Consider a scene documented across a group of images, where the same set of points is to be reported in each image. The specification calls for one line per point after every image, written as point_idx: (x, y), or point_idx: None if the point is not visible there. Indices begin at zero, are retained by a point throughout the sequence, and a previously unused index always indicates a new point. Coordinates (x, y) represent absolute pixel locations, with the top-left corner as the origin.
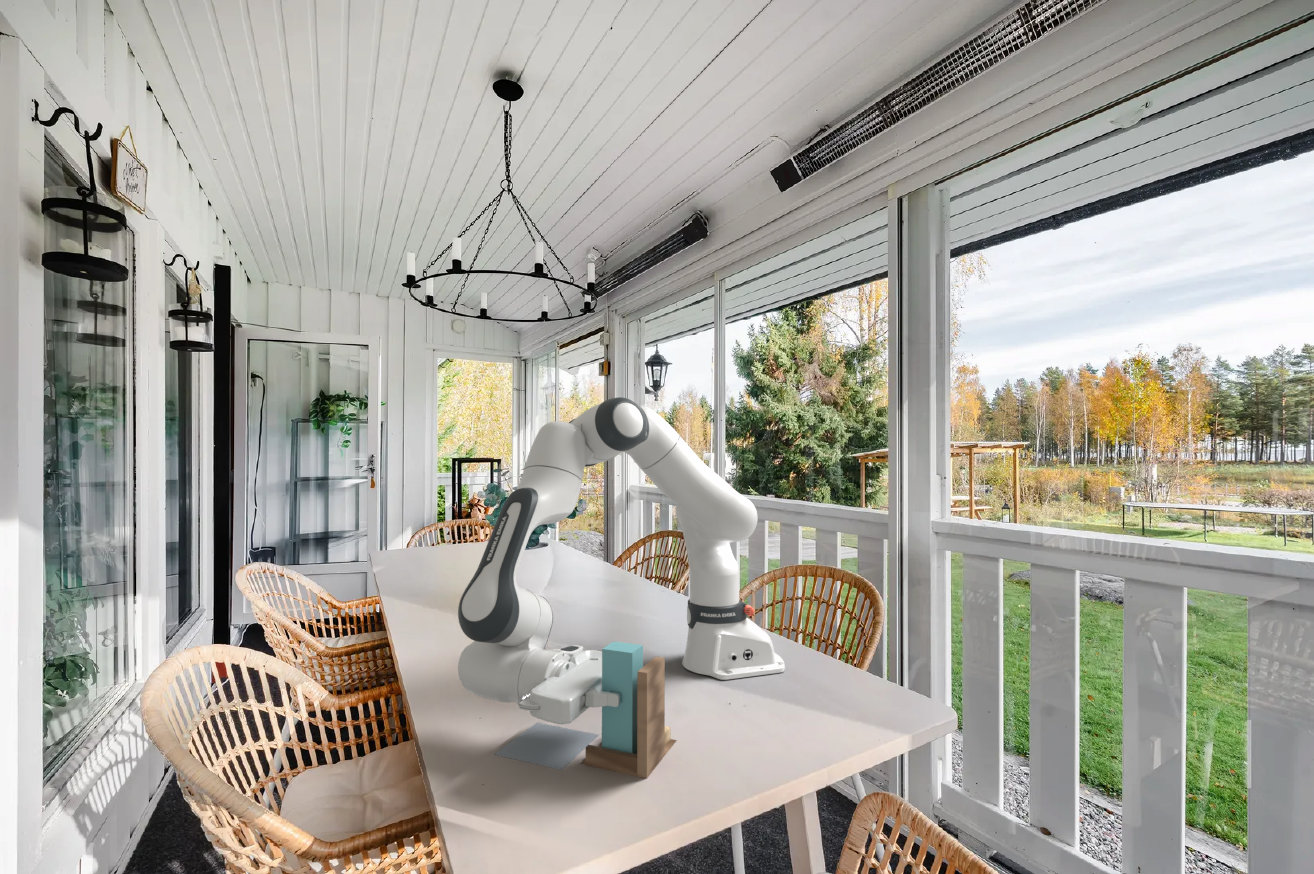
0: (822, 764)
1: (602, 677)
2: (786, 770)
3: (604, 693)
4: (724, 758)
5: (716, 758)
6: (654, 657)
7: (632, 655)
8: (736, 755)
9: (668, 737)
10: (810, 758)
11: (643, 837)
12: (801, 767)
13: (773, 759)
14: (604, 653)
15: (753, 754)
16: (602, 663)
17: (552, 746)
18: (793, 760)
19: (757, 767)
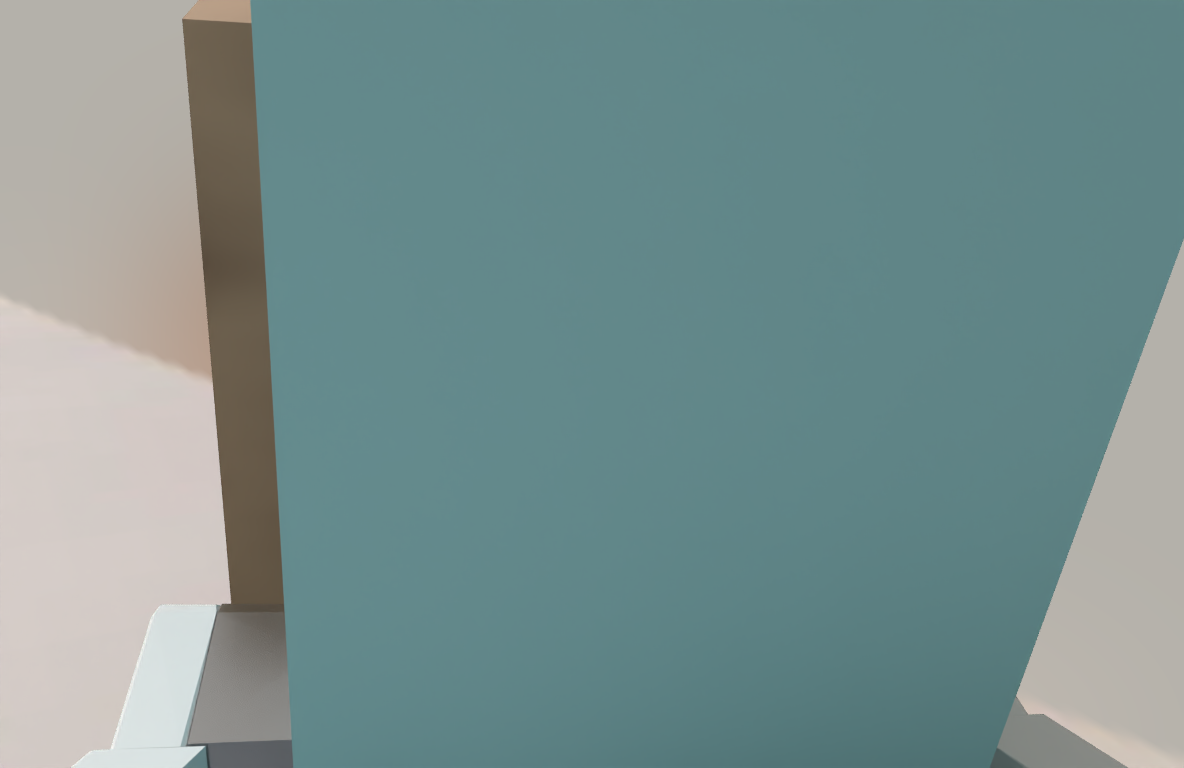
0: (87, 349)
1: (1004, 707)
2: (182, 424)
3: (1078, 741)
4: (106, 644)
5: (116, 679)
6: (239, 25)
7: None
8: (49, 602)
9: None
10: (32, 377)
11: (1112, 738)
12: (136, 392)
13: (71, 470)
14: (1177, 70)
15: (21, 540)
16: (1110, 403)
17: None
18: (66, 415)
19: (184, 506)
